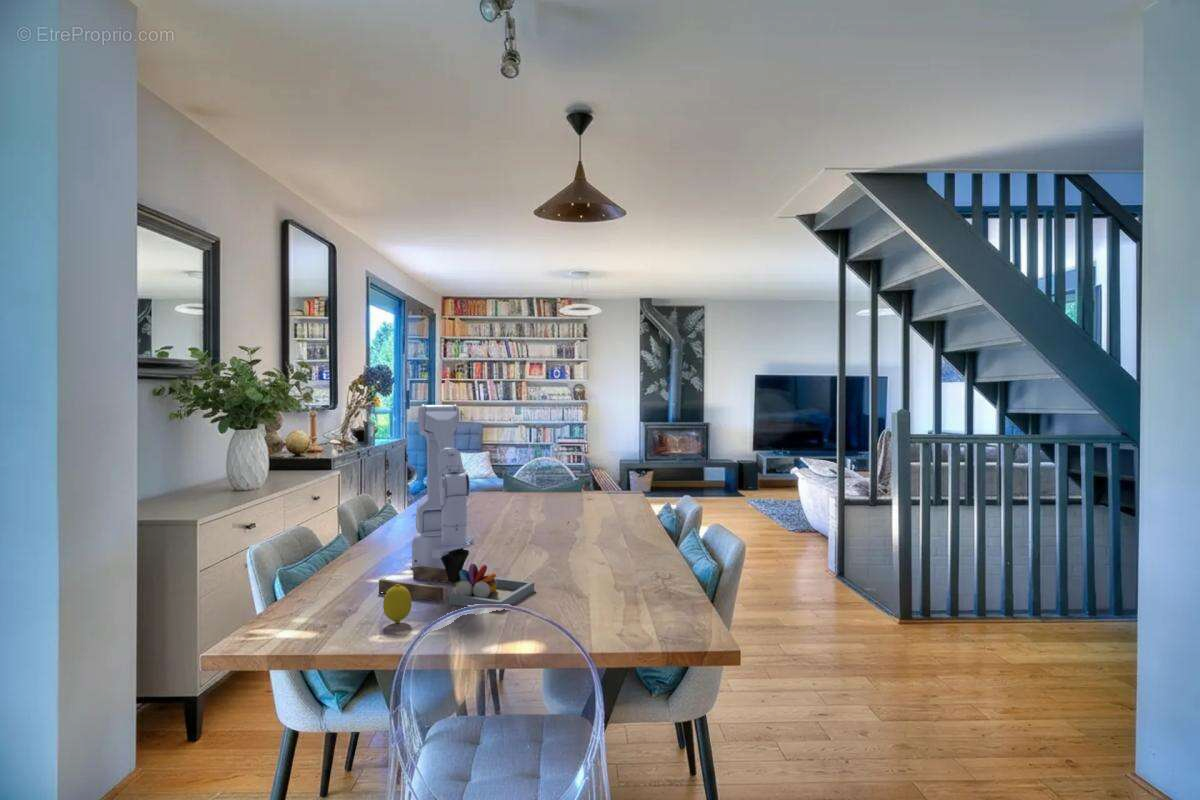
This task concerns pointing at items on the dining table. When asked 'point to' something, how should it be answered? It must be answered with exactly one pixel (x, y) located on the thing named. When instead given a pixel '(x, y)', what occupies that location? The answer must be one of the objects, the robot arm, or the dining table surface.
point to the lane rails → (420, 589)
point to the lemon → (397, 603)
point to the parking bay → (521, 591)
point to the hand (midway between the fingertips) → (454, 581)
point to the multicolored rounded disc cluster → (476, 582)
